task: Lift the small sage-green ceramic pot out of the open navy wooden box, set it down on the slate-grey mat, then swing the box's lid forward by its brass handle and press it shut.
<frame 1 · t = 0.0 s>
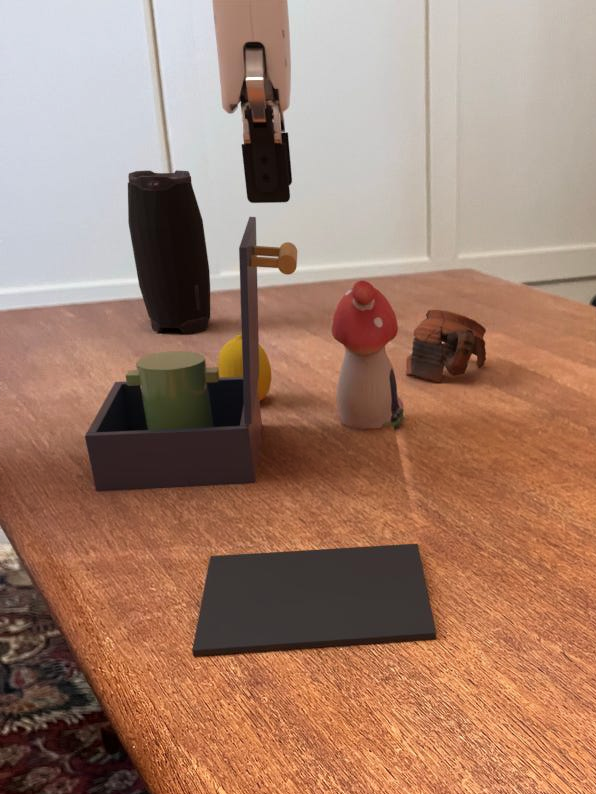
hand: (271, 193, 81), 24 cm above the table, tool pointing down, fingers open, 9 cm apart
green pot: (185, 455, 95), point 1 cm above the table, touching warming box
lemon: (249, 411, 110), on the table
decorative ornament: (372, 426, 105), on the table
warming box: (186, 463, 96), on the table
portable speaker: (182, 329, 140), on the table
brown carved piece: (449, 375, 121), on the table
grey mat: (316, 597, 73), on the table
box lid: (272, 318, 90), point 13 cm above the table, hinge at 95.0°
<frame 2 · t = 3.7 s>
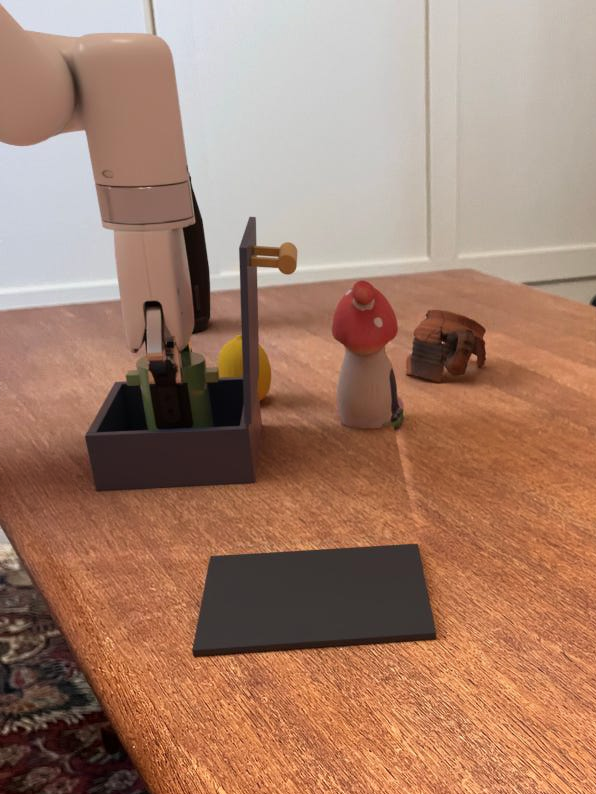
hand: (179, 414, 93), 5 cm above the table, tool pointing down, fingers closed on green pot, 6 cm apart
green pot: (185, 455, 95), point 1 cm above the table, touching gripper, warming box
everything else where it was.
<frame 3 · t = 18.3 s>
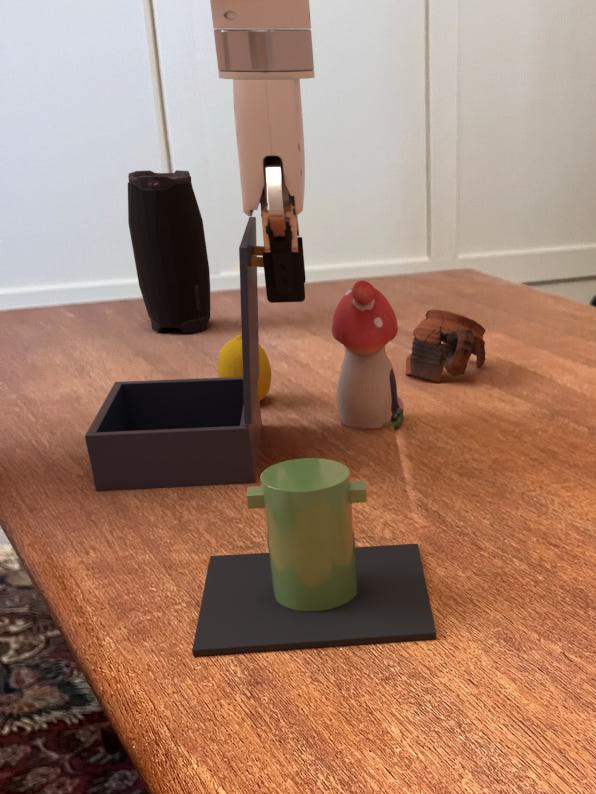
hand: (287, 290, 89), 15 cm above the table, tool pointing down, fingers closed on box lid, 6 cm apart
green pot: (316, 591, 73), resting on grey mat
box lid: (272, 318, 90), point 13 cm above the table, hinge at 95.0°, touching gripper
everything else where it was.
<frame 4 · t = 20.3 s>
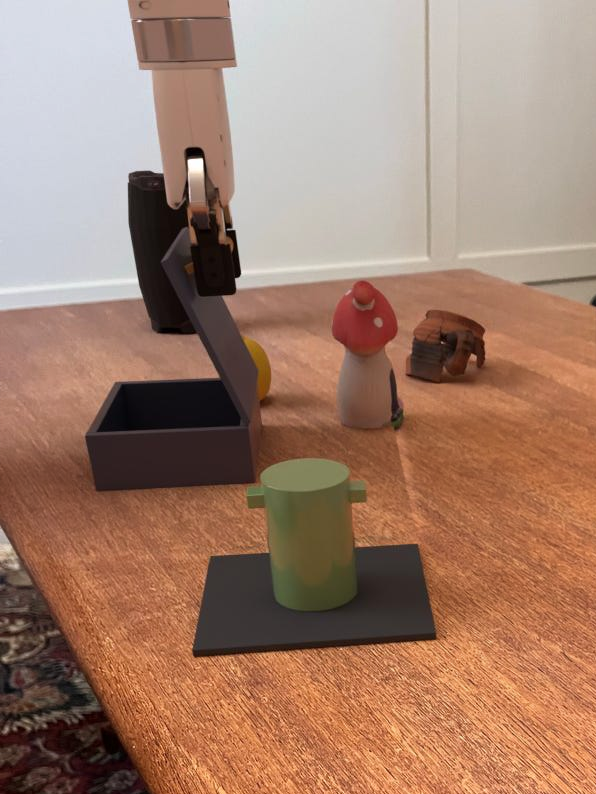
hand: (220, 284, 88), 16 cm above the table, tool pointing down, fingers closed on box lid, 6 cm apart
box lid: (234, 314, 90), point 14 cm above the table, hinge at 69.9°, touching gripper
everything else where it was.
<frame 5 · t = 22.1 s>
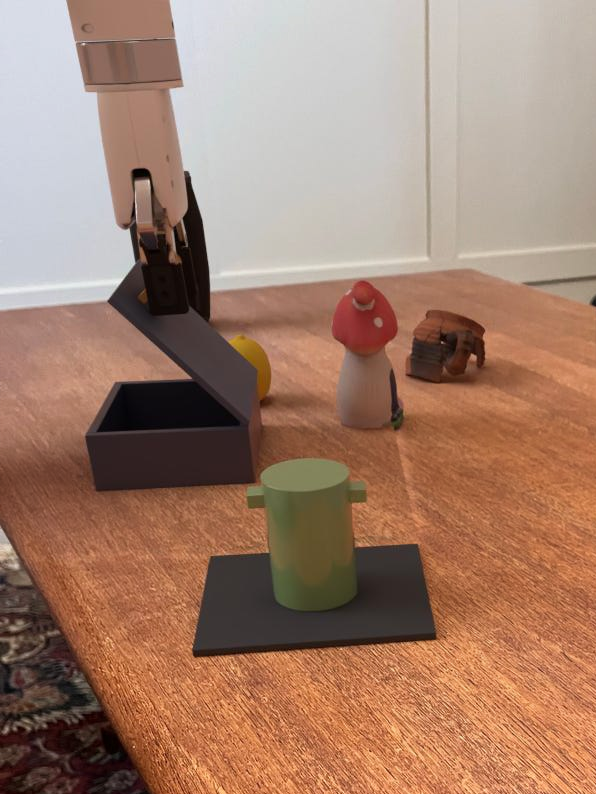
hand: (174, 302, 88), 15 cm above the table, tool pointing down, fingers closed on box lid, 6 cm apart
box lid: (205, 324, 90), point 13 cm above the table, hinge at 48.3°, touching gripper
everything else where it was.
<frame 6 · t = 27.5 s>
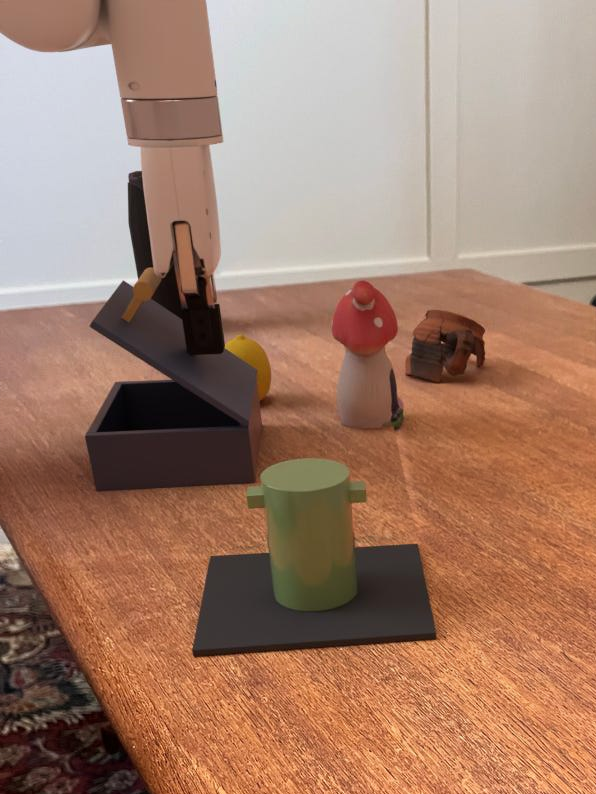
hand: (206, 351, 91), 10 cm above the table, tool pointing down, fingers closed
box lid: (193, 333, 90), point 12 cm above the table, hinge at 38.0°
everything else where it was.
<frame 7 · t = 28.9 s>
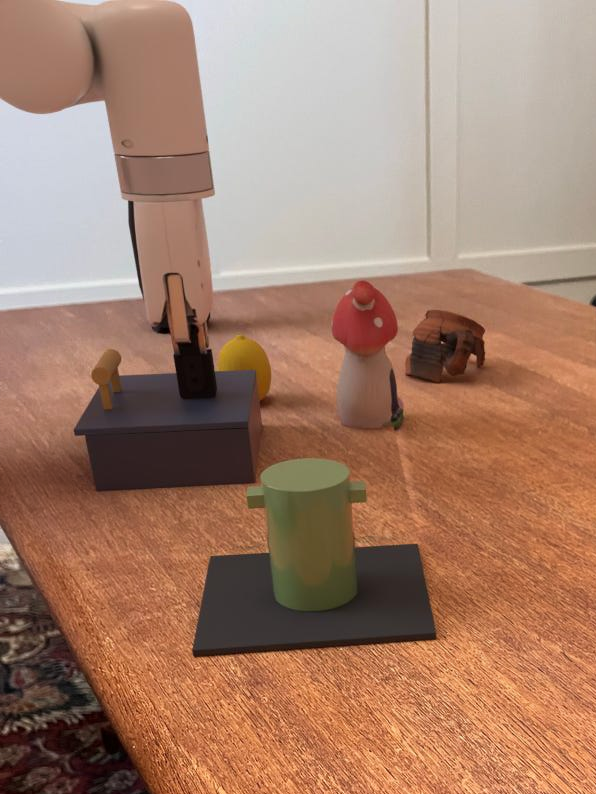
hand: (199, 395, 93), 6 cm above the table, tool pointing down, fingers closed
box lid: (169, 379, 92), point 8 cm above the table, hinge at -0.2°, touching gripper, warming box
everything else where it was.
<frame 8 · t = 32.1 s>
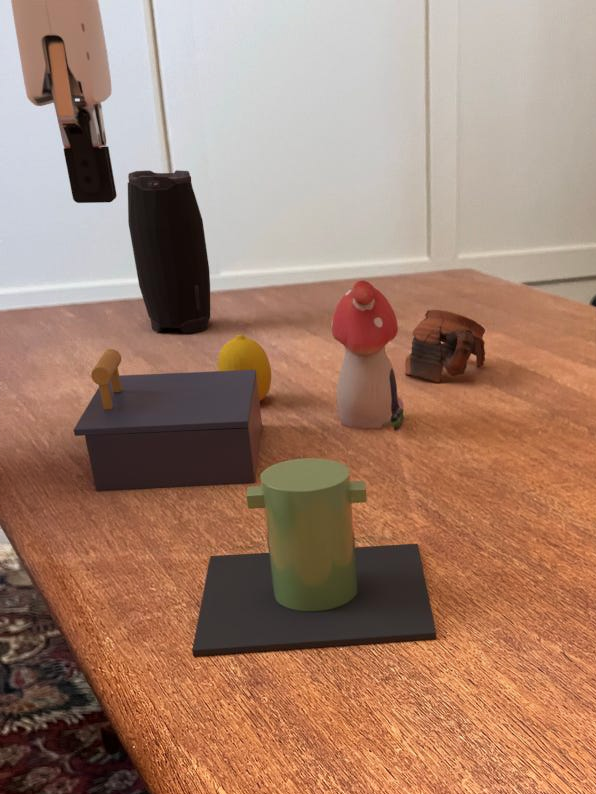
hand: (95, 200, 83), 23 cm above the table, tool pointing down, fingers closed
box lid: (169, 379, 92), point 8 cm above the table, hinge at -0.2°, touching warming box
everything else where it was.
at the end: green pot inside the target area on the grey mat (0.0 cm from its centre), point 0.5 cm above the grey mat's base; green pot tilted 0°; box lid at +0° (first picture: +95°) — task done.
